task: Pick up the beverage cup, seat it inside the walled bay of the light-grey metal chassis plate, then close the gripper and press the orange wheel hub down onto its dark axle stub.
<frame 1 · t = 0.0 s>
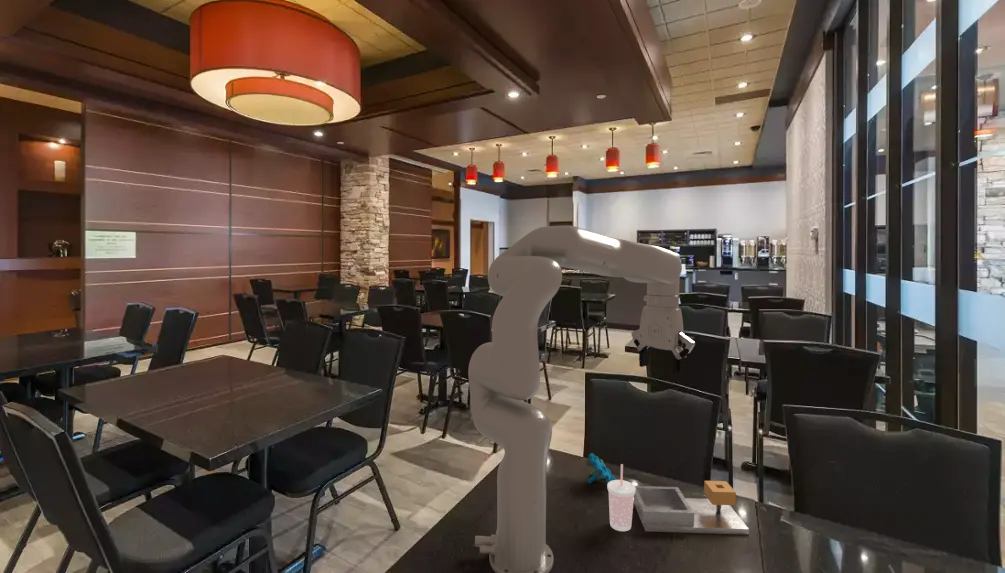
hand: (660, 369, 116), 31 cm above the table, tool pointing down, fingers open, 9 cm apart
chassis: (687, 516, 107), on the table
blue lobed piece: (601, 483, 123), on the table
wheel hub: (719, 492, 106), point 6 cm above the table, slide at 0.0 cm
beverage cup: (620, 526, 104), on the table
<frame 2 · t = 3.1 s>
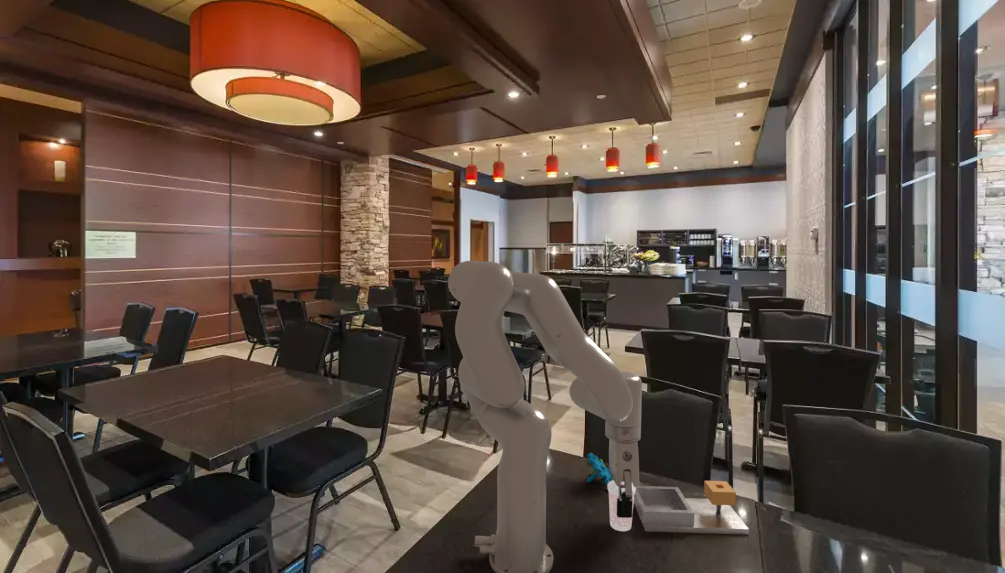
hand: (621, 507, 103), 4 cm above the table, tool pointing down, fingers closed on beverage cup, 6 cm apart
beverage cup: (620, 526, 104), on the table, touching gripper
everything else where it was.
when the fingers open (6 cm above the table, at t = 7.7 s): beverage cup stays where it is, resting on chassis.
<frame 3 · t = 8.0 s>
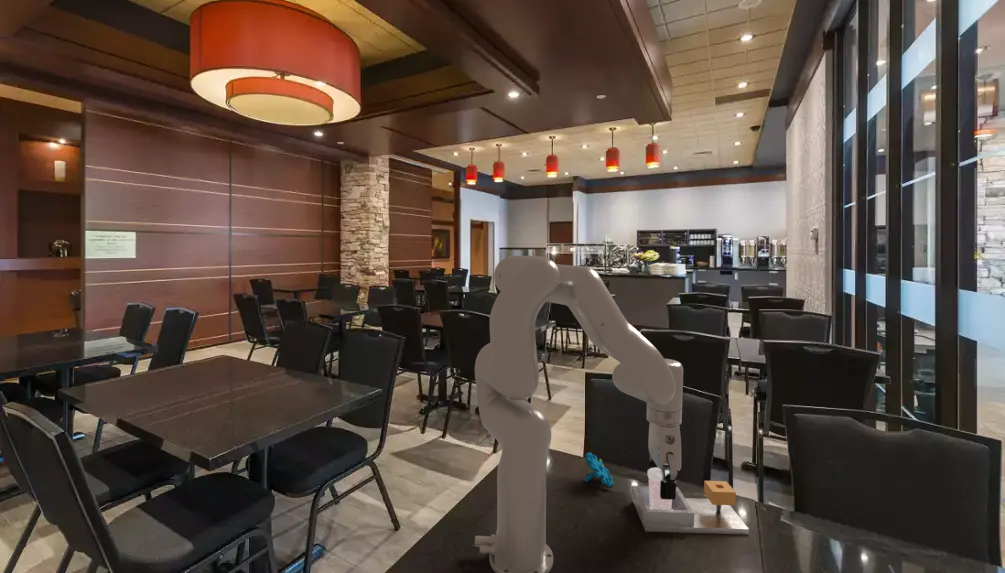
hand: (661, 487, 107), 7 cm above the table, tool pointing down, fingers open, 8 cm apart
beverage cup: (660, 512, 107), point 1 cm above the table, touching chassis
everything else where it was.
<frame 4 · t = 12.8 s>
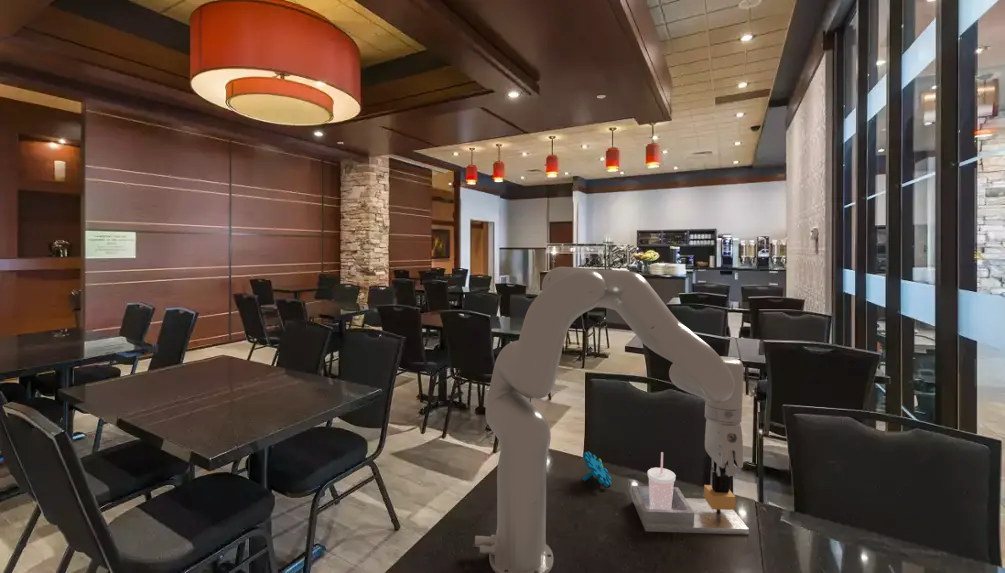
hand: (720, 490, 106), 7 cm above the table, tool pointing down, fingers closed
wheel hub: (719, 497, 106), point 5 cm above the table, slide at 1.1 cm, touching gripper
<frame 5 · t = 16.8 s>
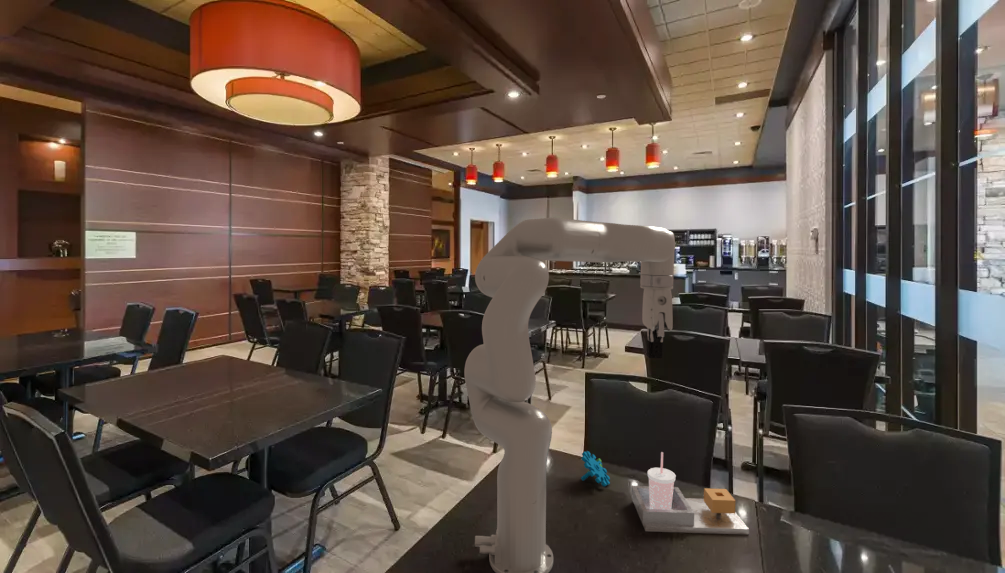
hand: (654, 357, 113), 35 cm above the table, tool pointing down, fingers closed
wheel hub: (719, 500, 106), point 4 cm above the table, slide at 1.9 cm
at the end: beverage cup 0.2 cm from the target spot, point 1.0 cm above the table; beverage cup tilted 0°; wheel hub slide at 1.9 cm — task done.
